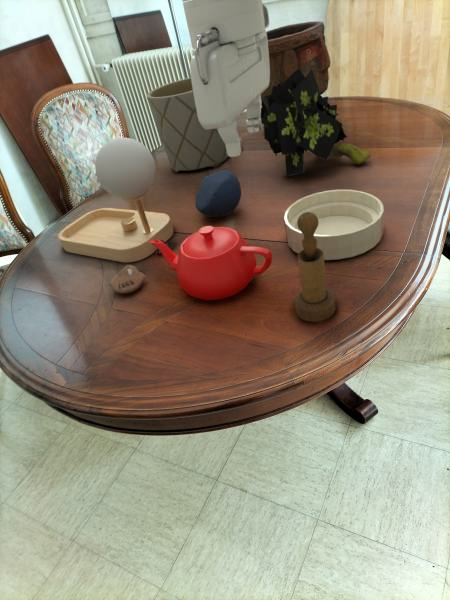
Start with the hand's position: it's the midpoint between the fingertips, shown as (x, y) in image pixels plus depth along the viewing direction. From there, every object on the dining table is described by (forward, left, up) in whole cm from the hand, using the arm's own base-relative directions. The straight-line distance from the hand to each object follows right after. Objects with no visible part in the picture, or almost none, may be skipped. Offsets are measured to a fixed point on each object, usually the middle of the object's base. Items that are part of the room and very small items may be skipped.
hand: (246, 142), depth 57 cm
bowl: (-10, -22, -29) cm, 37 cm away
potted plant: (-4, -59, -29) cm, 65 cm away
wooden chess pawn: (-7, +2, -29) cm, 30 cm away
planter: (+35, -75, -29) cm, 87 cm away
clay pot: (+5, -95, -29) cm, 99 cm away
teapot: (+12, -7, -29) cm, 32 cm away
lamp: (+42, -26, -29) cm, 57 cm away
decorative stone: (+18, -36, -29) cm, 49 cm away
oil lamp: (+31, -7, -29) cm, 43 cm away
